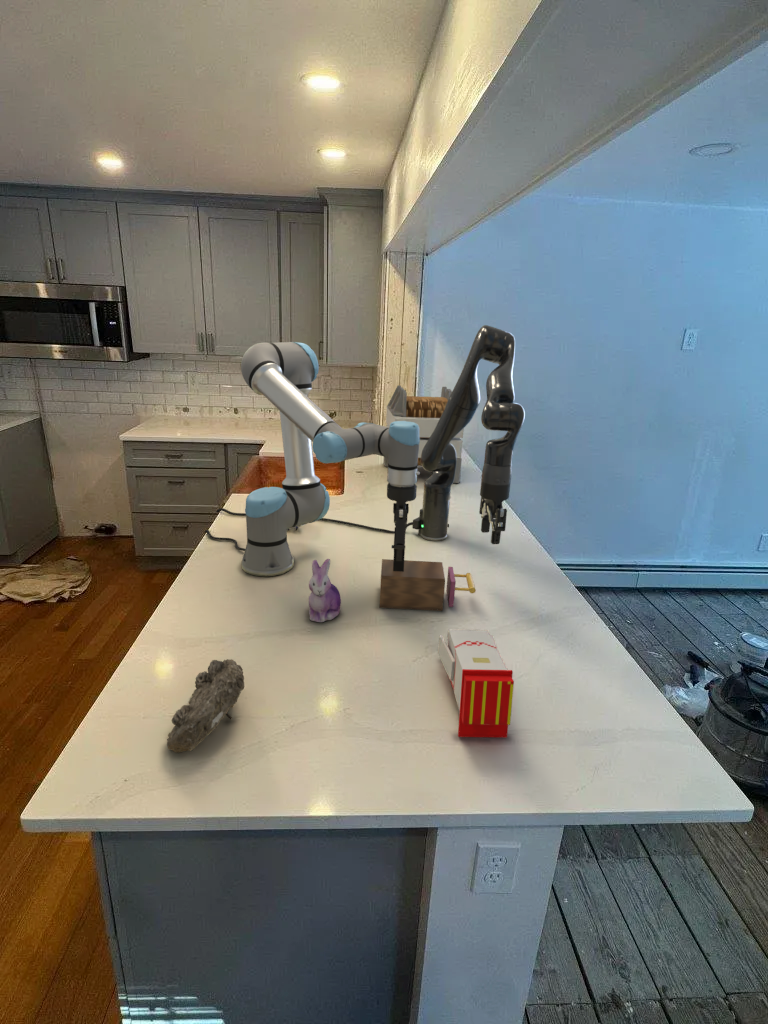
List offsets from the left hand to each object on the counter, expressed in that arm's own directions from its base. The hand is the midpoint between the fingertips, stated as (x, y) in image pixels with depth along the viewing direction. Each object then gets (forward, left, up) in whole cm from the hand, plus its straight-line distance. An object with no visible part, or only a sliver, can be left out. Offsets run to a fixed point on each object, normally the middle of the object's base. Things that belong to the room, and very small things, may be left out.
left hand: (398, 560), depth 151 cm
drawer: (+9, +4, -11) cm, 15 cm away
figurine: (-14, -16, -12) cm, 24 cm away
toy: (+29, -30, -12) cm, 43 cm away
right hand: (+21, +13, +6) cm, 25 cm away
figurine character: (-53, +34, -12) cm, 64 cm away
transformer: (-37, +123, -12) cm, 129 cm away
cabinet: (+4, +2, -12) cm, 12 cm away
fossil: (-14, -59, -12) cm, 62 cm away
